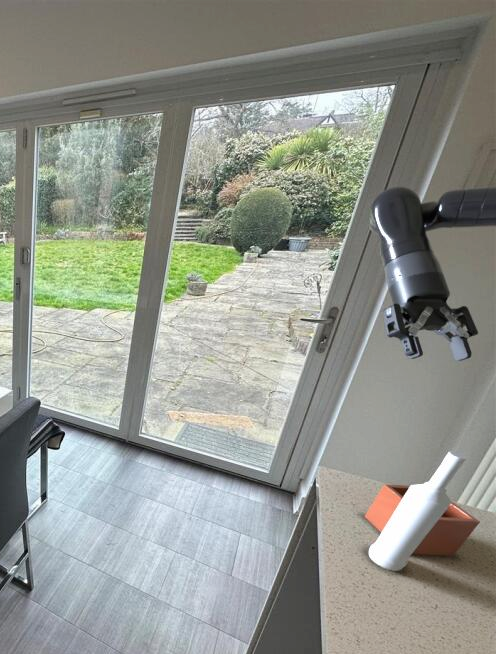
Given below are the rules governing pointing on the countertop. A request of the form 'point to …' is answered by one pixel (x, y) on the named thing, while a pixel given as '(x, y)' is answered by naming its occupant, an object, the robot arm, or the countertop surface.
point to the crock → (441, 536)
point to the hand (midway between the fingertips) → (439, 358)
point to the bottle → (415, 516)
